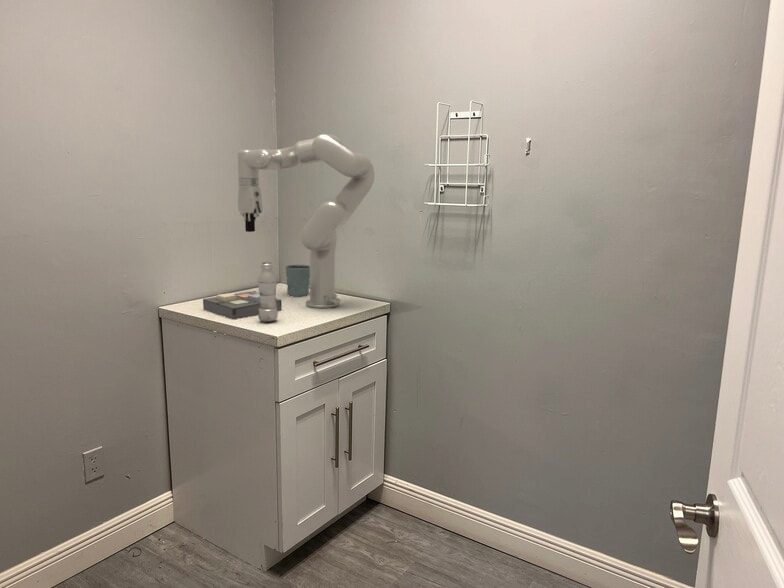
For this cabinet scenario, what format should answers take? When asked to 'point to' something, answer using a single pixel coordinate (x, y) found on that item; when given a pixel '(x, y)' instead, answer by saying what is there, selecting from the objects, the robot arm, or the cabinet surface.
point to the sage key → (238, 302)
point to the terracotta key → (243, 296)
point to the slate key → (254, 297)
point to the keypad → (235, 307)
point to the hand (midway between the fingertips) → (250, 231)
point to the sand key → (226, 297)
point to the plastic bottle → (267, 293)
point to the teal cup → (298, 280)
